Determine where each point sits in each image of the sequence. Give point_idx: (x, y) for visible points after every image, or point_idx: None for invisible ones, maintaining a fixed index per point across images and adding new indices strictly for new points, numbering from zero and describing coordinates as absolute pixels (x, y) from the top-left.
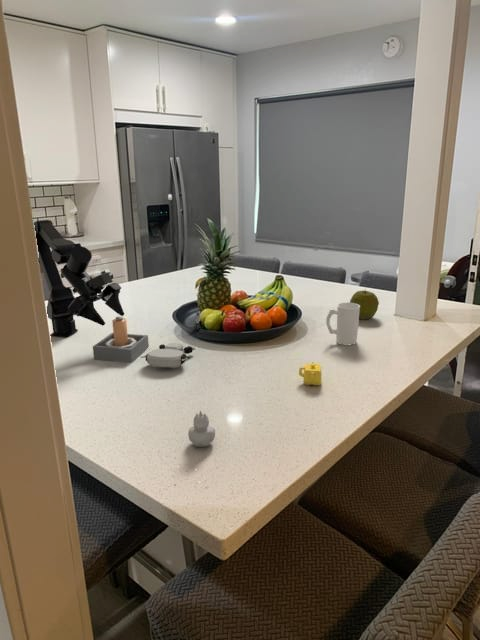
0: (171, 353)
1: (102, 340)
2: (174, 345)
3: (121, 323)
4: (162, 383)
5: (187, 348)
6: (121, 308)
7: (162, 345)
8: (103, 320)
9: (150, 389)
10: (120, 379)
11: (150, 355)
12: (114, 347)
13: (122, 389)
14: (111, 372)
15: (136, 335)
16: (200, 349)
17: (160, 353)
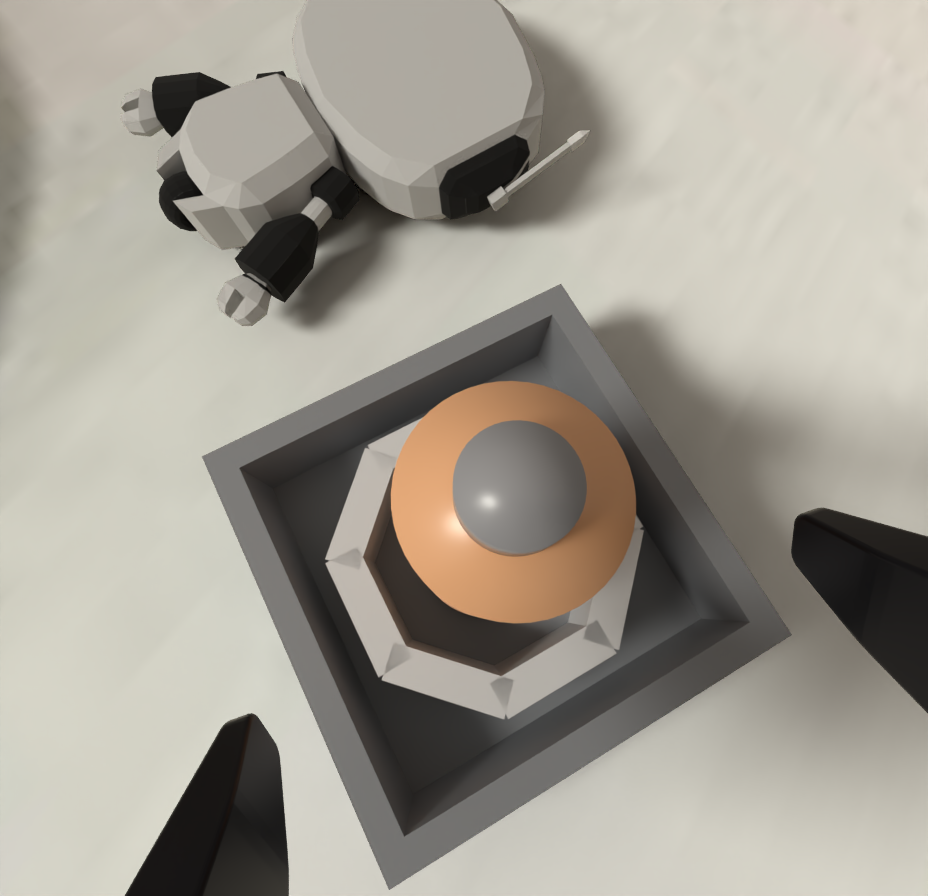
0: (394, 16)
1: (624, 721)
2: (249, 114)
3: (544, 394)
4: (591, 11)
5: (200, 76)
6: (174, 852)
7: (268, 244)
8: (854, 535)
9: (679, 7)
10: (740, 199)
11: (531, 81)
12: (638, 436)
13: (793, 100)
14: (733, 318)
15: (276, 548)
16: (61, 168)
17: (449, 65)
